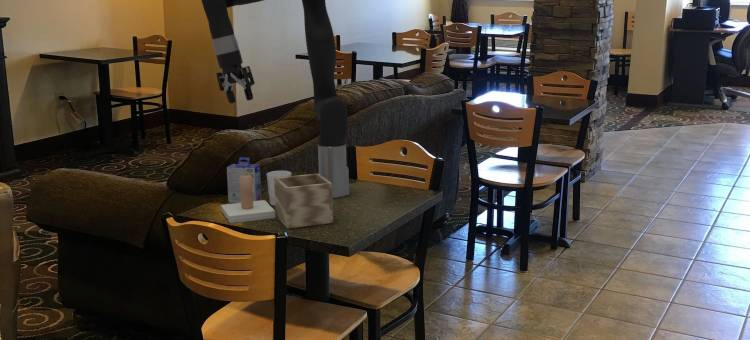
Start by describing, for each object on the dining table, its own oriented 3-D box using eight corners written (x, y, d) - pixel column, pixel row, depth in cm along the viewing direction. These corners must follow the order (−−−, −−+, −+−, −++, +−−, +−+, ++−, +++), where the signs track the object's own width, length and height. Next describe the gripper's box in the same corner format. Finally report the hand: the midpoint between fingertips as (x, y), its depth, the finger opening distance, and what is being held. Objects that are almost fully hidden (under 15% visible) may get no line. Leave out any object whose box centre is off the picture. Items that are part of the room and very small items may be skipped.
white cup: (296, 201, 266) (295, 171, 263) (286, 207, 258) (284, 176, 256) (274, 199, 268) (273, 170, 266) (264, 205, 261) (262, 175, 259)
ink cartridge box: (262, 200, 268) (260, 157, 265) (256, 204, 263) (254, 160, 259) (234, 199, 270) (231, 156, 267) (228, 203, 265) (225, 159, 261)
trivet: (265, 206, 260) (265, 203, 259) (275, 217, 247) (275, 214, 247) (221, 211, 255) (221, 208, 255) (229, 223, 242) (229, 220, 242)
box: (319, 210, 254) (318, 173, 251) (333, 222, 241) (332, 183, 238) (275, 216, 249) (274, 178, 246) (287, 228, 236) (285, 188, 233)
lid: (264, 203, 259) (263, 169, 257) (275, 214, 247) (273, 178, 244) (220, 208, 255) (218, 173, 252) (229, 220, 242) (227, 183, 239)
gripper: (251, 45, 252) (264, 96, 255) (222, 52, 261) (235, 100, 265) (233, 50, 247) (247, 102, 250) (204, 56, 256) (218, 106, 259)
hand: (241, 101), depth 257 cm, fingers open, 8 cm apart
